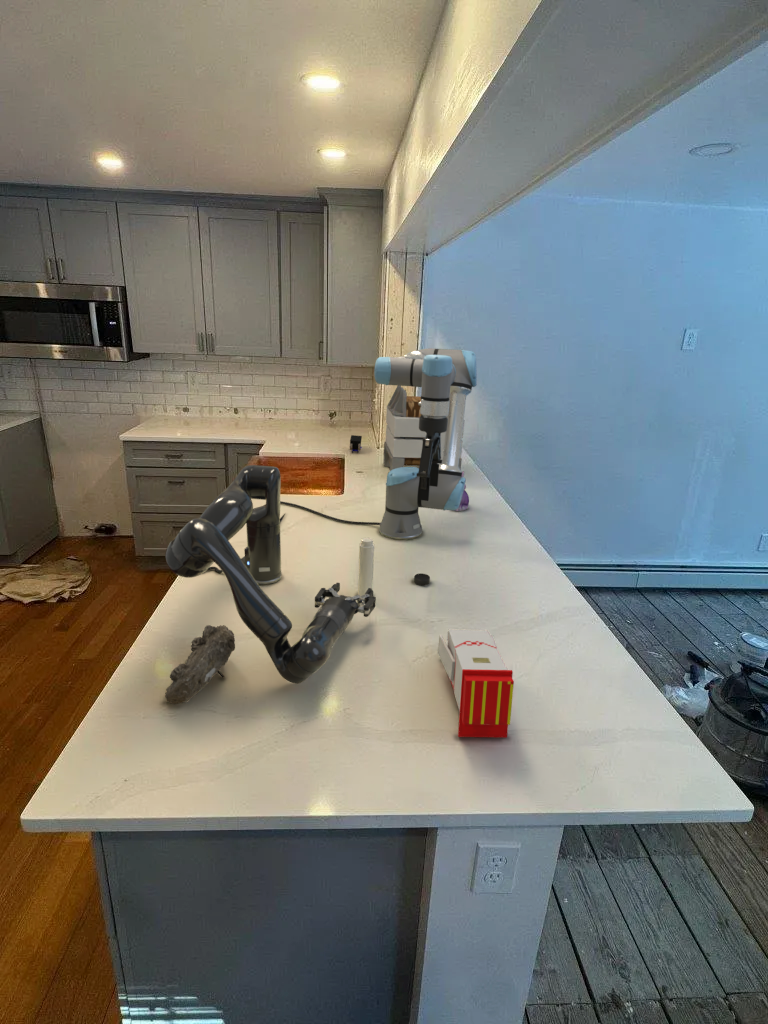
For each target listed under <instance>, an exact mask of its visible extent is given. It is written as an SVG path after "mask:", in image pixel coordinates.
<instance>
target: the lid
mask: <svg viewBox="0 0 768 1024" xmlns="http://www.w3.org/2000/svg"><path fill="white" fill-rule="evenodd" d="M430 582H431V577H430V575H429V574H427V573H422V572H421V573H416V574H414V576H413V583H414V585H416V586H422V587H423V586H428V585H429V584H430Z"/></svg>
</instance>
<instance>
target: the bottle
mask: <svg viewBox="0 0 768 1024" xmlns="http://www.w3.org/2000/svg"><path fill="white" fill-rule="evenodd" d="M373 539H374V538H371V537H362V538H361V540H360V543H359V546H358V575H357V576H358V577H357V595H360V596H362V595H365V593H366V591H367V590H368V588H372V590H373V589H374V588H373V587H374V565H375V563H374V562H375V543H374V540H373ZM373 591H374V590H373Z"/></svg>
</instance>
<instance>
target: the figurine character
mask: <svg viewBox="0 0 768 1024" xmlns="http://www.w3.org/2000/svg"><path fill="white" fill-rule="evenodd" d="M362 439H363V436H362V435H353V434H351V435H350V440H349V451H351V454H353V453H357V454H359V451H361V449H362V448H363V446H362Z"/></svg>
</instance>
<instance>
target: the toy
mask: <svg viewBox="0 0 768 1024" xmlns="http://www.w3.org/2000/svg"><path fill="white" fill-rule="evenodd" d="M446 640H447V643H446V641H445V639H444V636H443V635H442V634H439V637H438V646H437V656H438V657H439V659H440V661H441V663H442V666H443V668H444V670H445V672H446V674H447V677H448V679H449V681H450V684H451V687H452V690H453V693H454V697H455V701H456V705H457V708H458V711H459V714H458V715H459V716H458V730H457V731H458V732H457V737H458V738H508V731H509V726H510V725H511V717H512V707H513V697H514V696H513V695H514V684H515V680H514V679H513V673H514V671H513V670H512V669H508V667H507V665H506V662H505V661H504V659H503V658H502V655H501V653H500V651H499V649H498V647H497V643H496V639H495V637H494V635H493V634H491V632H490V631H489V629H467V628H466V629H465V628H463V629H461V628H460V629H459V628H448V630H447V639H446Z"/></svg>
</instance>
